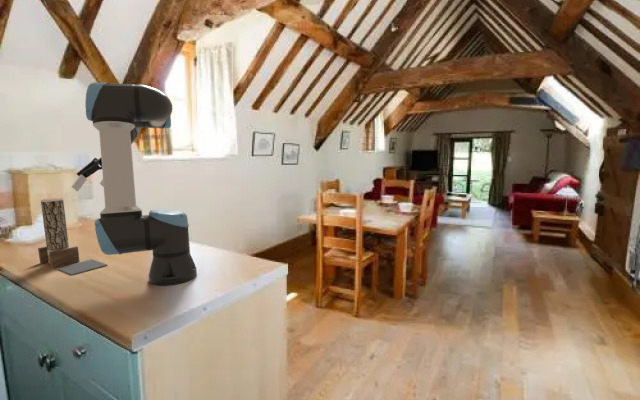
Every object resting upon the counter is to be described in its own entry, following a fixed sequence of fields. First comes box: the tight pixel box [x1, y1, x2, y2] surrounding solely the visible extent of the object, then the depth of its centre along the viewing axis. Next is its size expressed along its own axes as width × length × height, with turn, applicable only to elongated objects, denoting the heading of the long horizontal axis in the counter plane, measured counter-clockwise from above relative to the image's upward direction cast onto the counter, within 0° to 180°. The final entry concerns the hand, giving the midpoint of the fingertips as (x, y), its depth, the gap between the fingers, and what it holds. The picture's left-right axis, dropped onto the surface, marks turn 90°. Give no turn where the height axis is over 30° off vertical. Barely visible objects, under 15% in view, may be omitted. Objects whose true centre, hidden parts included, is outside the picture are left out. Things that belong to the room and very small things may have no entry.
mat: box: [56, 259, 108, 276], centre depth 131 cm, size 12×12×1 cm
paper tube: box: [40, 197, 70, 265], centre depth 135 cm, size 7×7×25 cm
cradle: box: [37, 245, 81, 269], centre depth 136 cm, size 11×9×6 cm
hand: (88, 187), depth 135 cm, fingers open, 13 cm apart
